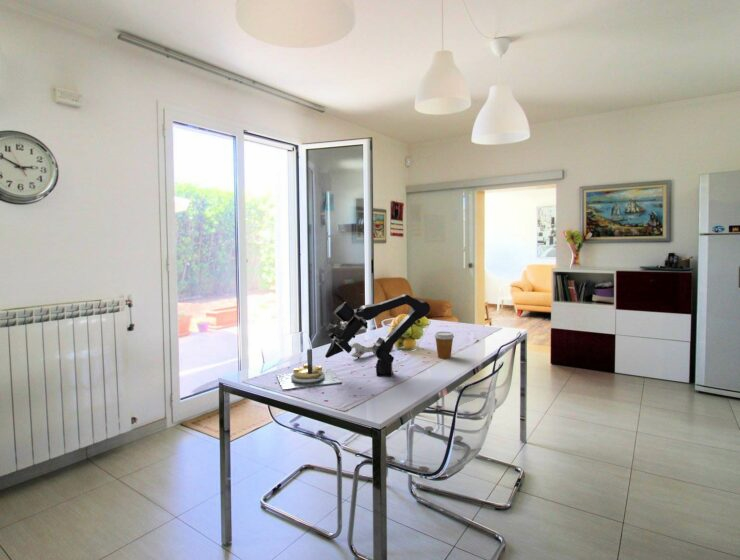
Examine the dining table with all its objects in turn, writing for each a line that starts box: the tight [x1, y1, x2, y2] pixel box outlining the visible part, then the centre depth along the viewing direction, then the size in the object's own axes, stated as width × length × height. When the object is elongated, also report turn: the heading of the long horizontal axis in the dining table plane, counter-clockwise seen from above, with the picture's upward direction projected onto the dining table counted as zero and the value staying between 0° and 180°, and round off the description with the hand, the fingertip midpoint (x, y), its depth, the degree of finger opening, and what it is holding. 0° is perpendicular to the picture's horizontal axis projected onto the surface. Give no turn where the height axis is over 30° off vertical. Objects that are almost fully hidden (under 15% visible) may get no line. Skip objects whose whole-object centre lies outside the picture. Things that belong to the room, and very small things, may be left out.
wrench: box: [349, 342, 394, 359], centre depth 221 cm, size 8×2×30 cm
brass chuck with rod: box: [292, 348, 323, 379], centre depth 181 cm, size 12×12×12 cm
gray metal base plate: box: [276, 368, 343, 391], centre depth 182 cm, size 24×20×2 cm
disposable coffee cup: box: [434, 331, 455, 359], centre depth 214 cm, size 10×10×12 cm
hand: (325, 357), depth 180 cm, fingers closed
